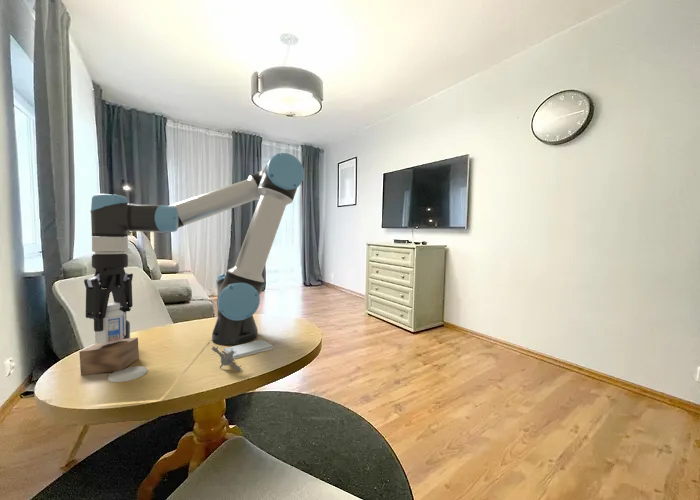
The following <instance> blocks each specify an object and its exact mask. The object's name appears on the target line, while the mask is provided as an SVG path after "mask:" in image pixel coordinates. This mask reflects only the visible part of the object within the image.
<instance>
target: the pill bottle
mask: <svg viewBox="0 0 700 500" xmlns="http://www.w3.org/2000/svg"><path fill="white" fill-rule="evenodd" d="M119 309H120V303H114V302H108V305H107V310H106V315H105V318H108V343H109V342H115V341H119V340H121V339H123V338H124V313H123V311H121V310H119Z"/></svg>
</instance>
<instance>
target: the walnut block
mask: <svg viewBox="0 0 700 500" xmlns="http://www.w3.org/2000/svg"><path fill="white" fill-rule="evenodd" d="M78 353H79V366H80V368H79V369H80V375H81V376H85V375H94V374H95V375H96V374H104V373H111V372H112V373H113V372H115V371H121V370H122V369H124V368H128V367H129V365H131V364H133V363H134V362H136V361H137V360H139V359H140V353H139V338H138V337H130V338H128V339H121V340H119V341H115V342H109V343H95V344H93V345H91V346H88V347H86V348H84V349H82V350H80V351H78Z"/></svg>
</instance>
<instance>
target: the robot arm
mask: <svg viewBox="0 0 700 500" xmlns="http://www.w3.org/2000/svg"><path fill="white" fill-rule="evenodd" d="M304 177H305V169H304V167H303V164H302V163H301V161H300V160H299V159H298V158H297V157H296V156H295V155H293V154H291V153H287V152H279V153H276V154H275V155H273V156H271V157H270V158H269V159H268V160H267V163H266V164H265V166H264V167H263V168H262V169H261V170H259V171H257V172H255V173H252V174H250V175H248V177H247V179H244V180H242V181H238V182H235V183H232V184H230V185H226V186H223V187H219V188H217V189H215V190H212V191H209V192H205V193H203V194H200V195H196V196H193V197H190V198H187V199H185V200H182V201H178V202H175V203H173V204H170V205H165V204H160V205H159V204H143V203H142V204H140V203H138V204H137V203H136V204H135V203H129V201H128V198H127V196H124V195H120V194H109V193H97V194H96V193H95V194H94V195H93V196H92V197H91V205H90V207H91V208H90V217H91V218H90V223H91V225H90V226H91V252H93V254H91V267H92V269H95V271H94V272H95V273H94V276H93V277H90V278H85V279H84V280H83V283H84V286H85V318H86V319H90V320H93V331H94V334H95V335H94V337H95V340H94V342H95V344H97V343H108V318H105V315H106V310H107V305H108V303H109V300H110V295H111V294H112V298H113V303H120V309H119V310H121V311H123V313H124V336H125V335H126V320H127V312H130V311H131V308H132V307H133V305H134V304H133V283H132V282H133V277H134V274H133V273H130V272H129V273H127V272H126V271H125V268H127V267H128V266H129V255H128V253H126V252H128V251H129V237H128V236H129V235H128V233H129V232H147V233H148V232H151V233H158V234H168V233H175V232H177V231H178V228H179V229H180V228H182V227H184V226H187V225H190V224H192V223H195V222H198V221H201V220H204V219H206V218H209V217H212V216H214V215H217V214H220V213H223V212H225V211H228V210H231V209H233V208H236V207H239V206H242V205H245V204H248V203H251V202H253V201H255V200H256V201H257V204H256V206H255V209H254V212H253V215H252V217H251V220H250V223H249V226H248V229H247V232H246V234H245V237H244V239H243V242H242V245H241V248H240V250H239V253H238V256H237V259H236V261H235V264H234V266H233V267H230V268H229V269H227V270H226V273H220V274H219V275H218V276H217V281H216V284H217V288H216V289H217V294H216V295H217V299H216V305H217V318H216V322H215V325H214V327H213V331H212V334H211V341H212V343H214V344H218V345H226V346H228V345H230V346H231V345H241V344H245V343H249V342H252V341H255V339H257V337H258V336H259V335H258V334H259V331H258V329H259V328H258V326H257V324H256V321H255V318H254V315H255V313H256V312H257V310H258V309H259V306H260V301H261V297H260V295H261V293H262V290H263V286H264V284H265V279H264V277H263V273H264V272H263V271H264V268H265V265H266V264H267V260H268V258H269V254H270V252H271V249H272V247H273V243H274V240H275V239H276V235H277V233H278V232H277V231H278V229H279V227H280V223H281V222H282V217H283V215H284V212H285V209H286V207H287V206H288V205H290V204H292V203H293V201H294V198H295V195H296V192H297V189H298V188H299V187H300V185H301V184H302V183H303V180H304Z"/></svg>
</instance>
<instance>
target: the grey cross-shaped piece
mask: <svg viewBox="0 0 700 500" xmlns="http://www.w3.org/2000/svg"><path fill="white" fill-rule="evenodd" d="M218 347H219V346H217V347H216V346H212V347H211V350H212V351H214V353H216V354H217V355H219V357H220V363H221V365H219V369H221V368H222V367H223V366H229V365H231V367H233V368H235V370H236V371H237V372H242V371H243V369H242V368H241V367H242V365H237V364H235V359H233V355H234V353H235V352H236V351H235V352H234V351H232V349H233V348H232V349H231V351H230V352H229V353H226V352H225V351H224V350H222V351H221V352H220V351H219V349H218Z"/></svg>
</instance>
